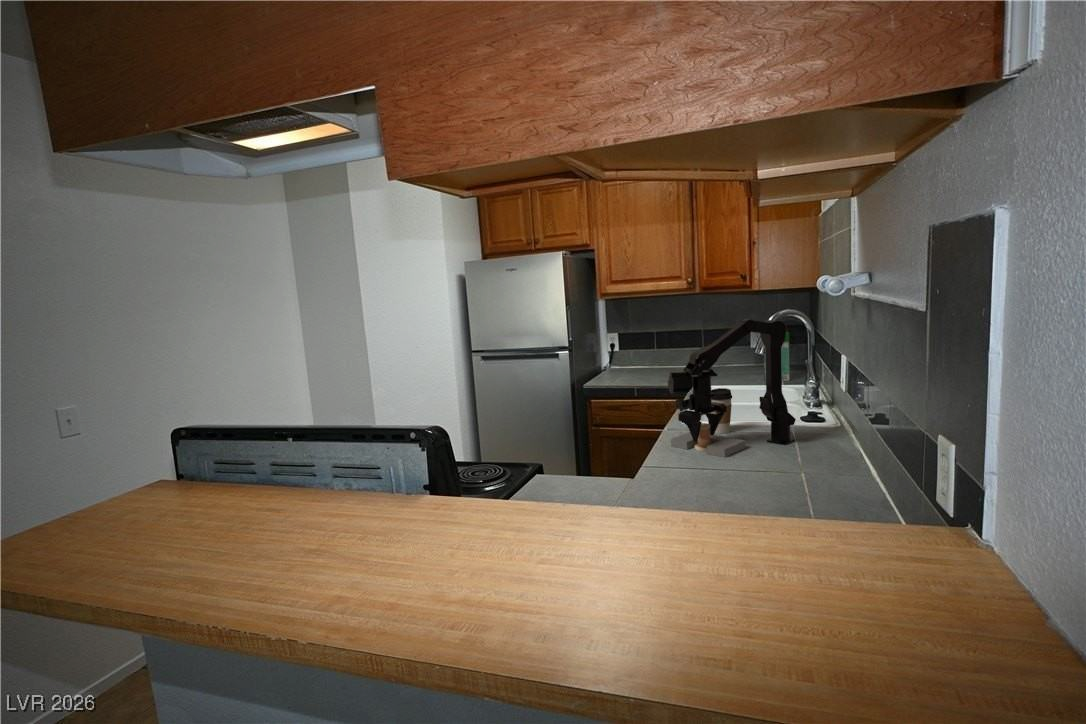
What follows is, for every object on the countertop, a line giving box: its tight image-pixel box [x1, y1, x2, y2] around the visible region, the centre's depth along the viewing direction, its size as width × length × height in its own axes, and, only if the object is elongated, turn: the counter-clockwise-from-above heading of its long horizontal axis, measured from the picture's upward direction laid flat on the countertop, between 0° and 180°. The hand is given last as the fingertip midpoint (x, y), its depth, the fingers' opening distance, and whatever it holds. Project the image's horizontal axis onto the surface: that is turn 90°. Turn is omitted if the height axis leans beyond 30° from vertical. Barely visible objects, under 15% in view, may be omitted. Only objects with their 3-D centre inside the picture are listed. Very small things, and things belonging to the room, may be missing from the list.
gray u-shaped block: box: [670, 431, 747, 458], centre depth 181 cm, size 12×20×2 cm, turn 40°
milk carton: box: [763, 331, 791, 382], centre depth 285 cm, size 9×9×25 cm
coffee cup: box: [711, 387, 733, 435], centre depth 198 cm, size 8×8×15 cm
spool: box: [694, 422, 711, 453], centre depth 179 cm, size 6×6×8 cm
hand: (703, 438), depth 179 cm, fingers open, 9 cm apart
